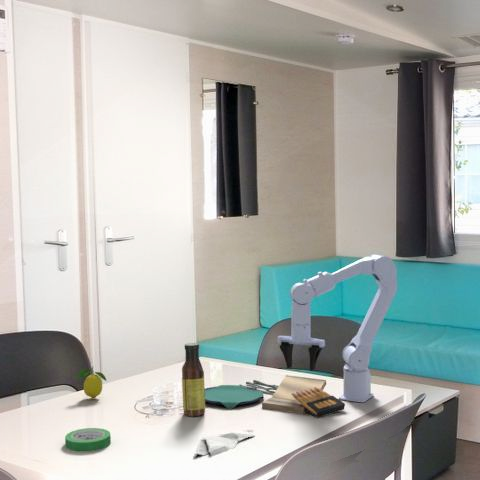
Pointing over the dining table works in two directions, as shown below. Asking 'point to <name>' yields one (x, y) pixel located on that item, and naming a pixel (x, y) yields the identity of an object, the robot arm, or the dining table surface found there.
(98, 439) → the tape roll
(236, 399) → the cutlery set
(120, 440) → the dining table surface
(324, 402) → the ammunition clip
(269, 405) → the floor row
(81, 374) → the lemon
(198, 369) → the sauce bottle
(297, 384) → the plank
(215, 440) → the cloth
